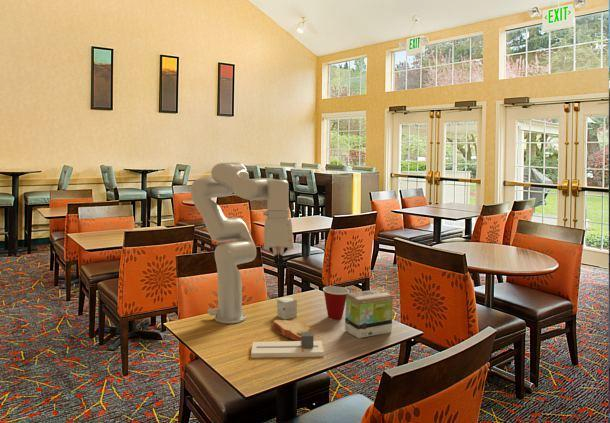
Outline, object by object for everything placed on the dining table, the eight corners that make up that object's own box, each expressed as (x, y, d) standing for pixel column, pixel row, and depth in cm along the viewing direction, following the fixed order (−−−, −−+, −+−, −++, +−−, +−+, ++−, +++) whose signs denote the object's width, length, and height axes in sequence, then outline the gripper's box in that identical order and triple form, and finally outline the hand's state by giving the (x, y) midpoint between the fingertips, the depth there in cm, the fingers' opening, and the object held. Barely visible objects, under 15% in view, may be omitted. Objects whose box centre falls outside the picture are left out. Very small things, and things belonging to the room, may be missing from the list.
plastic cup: (350, 322, 200) (350, 292, 198) (322, 321, 200) (322, 292, 199) (348, 313, 211) (348, 285, 209) (322, 313, 211) (322, 285, 209)
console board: (251, 357, 165) (251, 352, 165) (253, 345, 175) (253, 341, 175) (323, 356, 166) (323, 351, 166) (321, 344, 176) (321, 340, 176)
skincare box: (276, 316, 207) (276, 298, 206) (288, 313, 211) (288, 296, 210) (285, 320, 202) (284, 302, 202) (297, 317, 206) (297, 299, 205)
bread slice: (274, 323, 200) (274, 314, 199) (318, 326, 196) (318, 317, 195) (260, 339, 182) (260, 329, 182) (309, 343, 178) (309, 333, 178)
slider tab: (301, 347, 169) (301, 336, 168) (301, 343, 173) (301, 332, 172) (313, 347, 169) (313, 336, 169) (312, 343, 173) (312, 331, 172)
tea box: (359, 339, 181) (359, 300, 180) (344, 330, 190) (344, 293, 188) (392, 332, 188) (393, 294, 186) (376, 324, 197) (377, 287, 195)
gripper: (256, 216, 173) (257, 268, 175) (299, 215, 174) (299, 267, 176) (257, 213, 181) (258, 263, 183) (298, 213, 181) (299, 262, 183)
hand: (278, 265), depth 179 cm, fingers closed
